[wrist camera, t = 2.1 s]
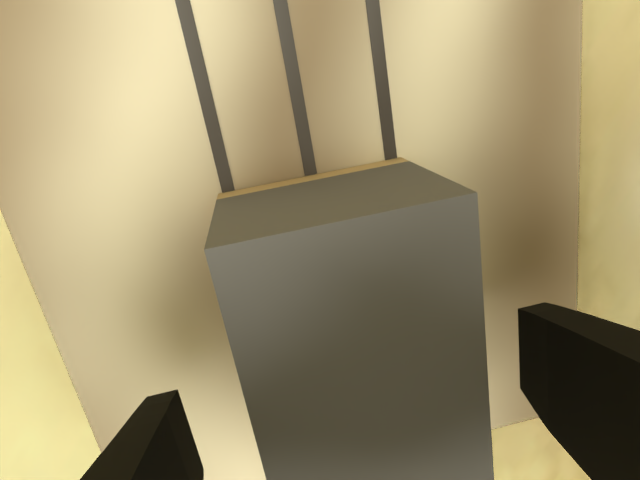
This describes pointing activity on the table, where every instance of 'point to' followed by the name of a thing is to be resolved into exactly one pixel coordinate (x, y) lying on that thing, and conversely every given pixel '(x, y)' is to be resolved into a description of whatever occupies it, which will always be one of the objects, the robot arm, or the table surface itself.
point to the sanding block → (358, 323)
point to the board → (268, 168)
